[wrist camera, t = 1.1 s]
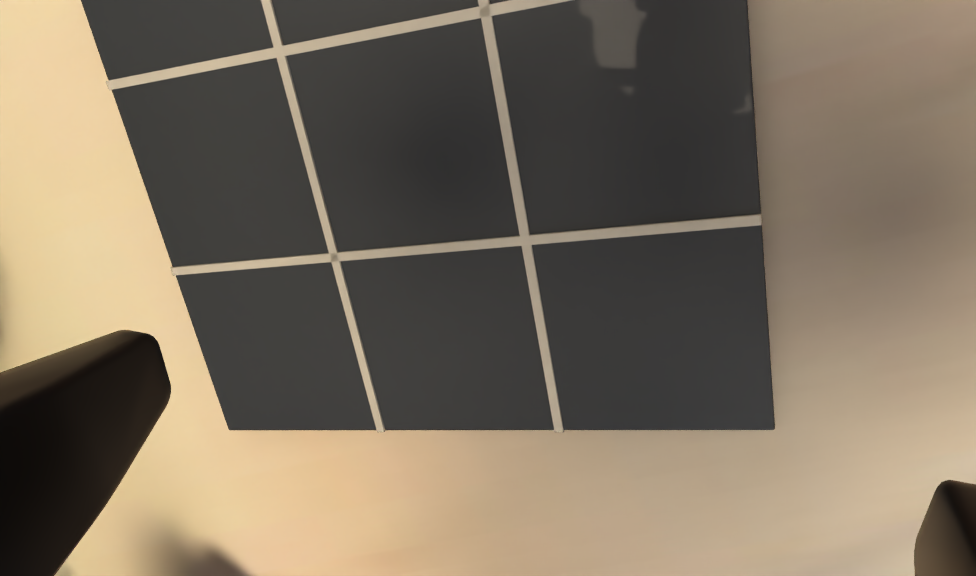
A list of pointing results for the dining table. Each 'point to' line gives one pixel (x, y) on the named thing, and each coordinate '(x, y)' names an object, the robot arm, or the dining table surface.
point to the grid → (456, 207)
